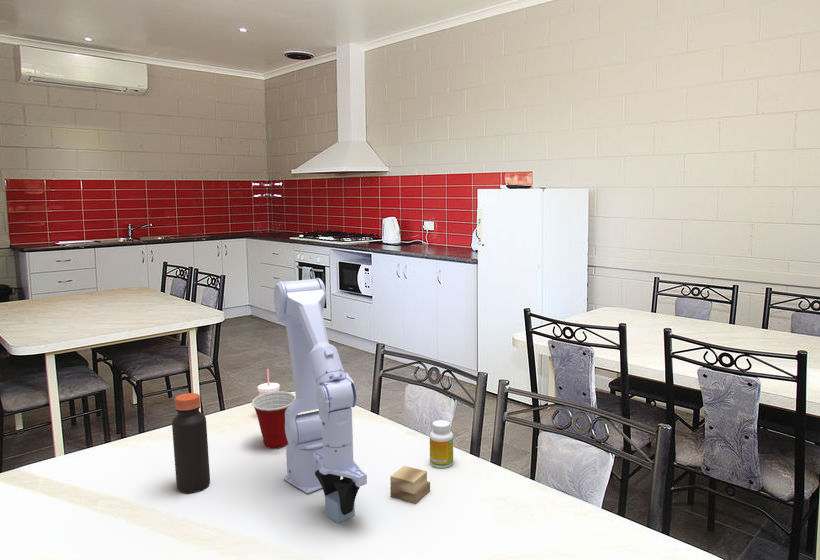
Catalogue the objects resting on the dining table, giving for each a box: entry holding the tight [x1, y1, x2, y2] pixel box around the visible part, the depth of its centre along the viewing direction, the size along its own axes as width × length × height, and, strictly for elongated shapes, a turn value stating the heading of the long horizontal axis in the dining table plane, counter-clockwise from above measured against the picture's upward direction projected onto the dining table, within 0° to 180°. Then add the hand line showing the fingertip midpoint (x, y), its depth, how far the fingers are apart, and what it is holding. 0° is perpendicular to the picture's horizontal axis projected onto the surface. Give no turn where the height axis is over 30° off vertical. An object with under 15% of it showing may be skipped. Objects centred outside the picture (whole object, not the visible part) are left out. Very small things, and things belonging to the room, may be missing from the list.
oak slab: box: [389, 465, 428, 494], centre depth 120 cm, size 6×6×2 cm
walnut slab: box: [389, 480, 431, 505], centre depth 121 cm, size 6×6×2 cm
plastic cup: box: [251, 390, 296, 449], centre depth 146 cm, size 11×11×12 cm
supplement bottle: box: [429, 419, 454, 469], centre depth 134 cm, size 5×5×10 cm
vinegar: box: [171, 392, 211, 494], centre depth 124 cm, size 7×7×20 cm
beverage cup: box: [256, 368, 281, 396], centre depth 165 cm, size 6×6×14 cm
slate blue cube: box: [324, 491, 356, 524], centre depth 113 cm, size 4×4×4 cm
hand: (340, 508), depth 113 cm, fingers closed on slate blue cube, 4 cm apart
